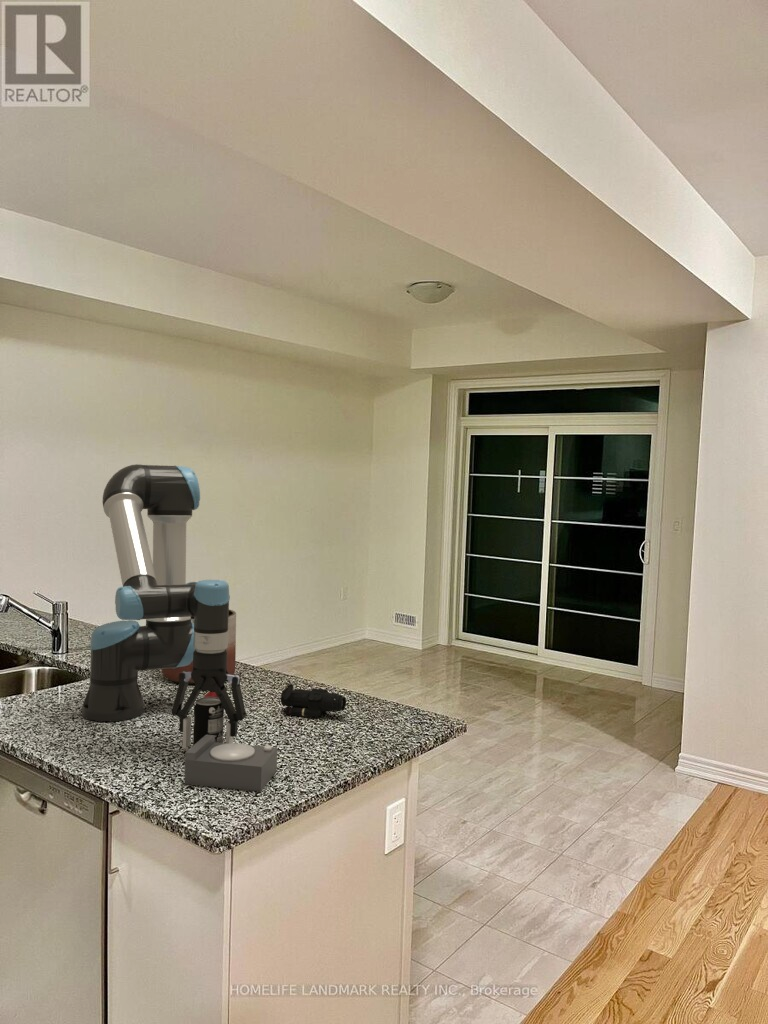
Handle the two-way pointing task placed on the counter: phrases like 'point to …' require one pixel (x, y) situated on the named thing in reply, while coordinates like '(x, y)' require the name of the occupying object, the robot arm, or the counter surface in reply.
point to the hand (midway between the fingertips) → (207, 748)
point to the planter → (231, 649)
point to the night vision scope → (311, 701)
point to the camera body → (229, 765)
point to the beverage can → (208, 719)
